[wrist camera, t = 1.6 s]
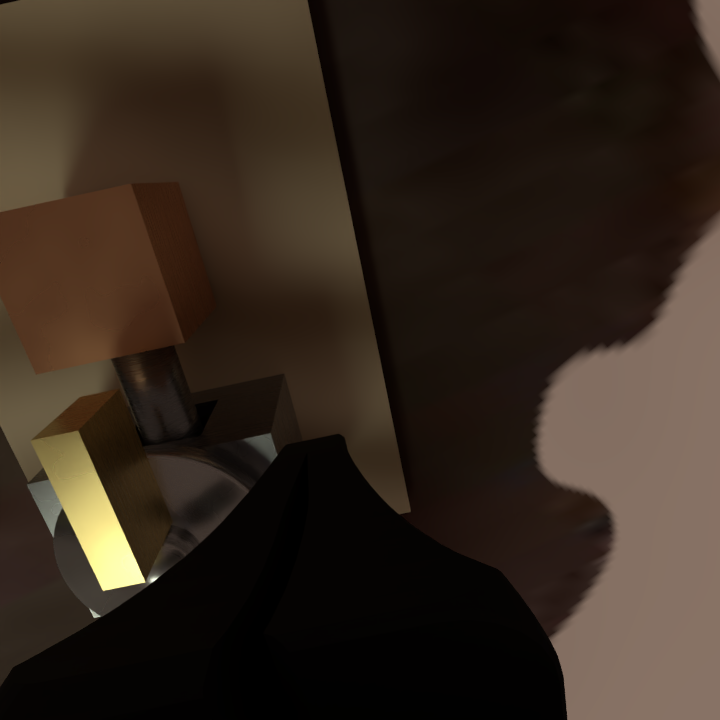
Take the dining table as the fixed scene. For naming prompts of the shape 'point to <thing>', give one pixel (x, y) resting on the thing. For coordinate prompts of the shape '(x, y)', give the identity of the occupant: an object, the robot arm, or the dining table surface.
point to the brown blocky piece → (111, 293)
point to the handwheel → (127, 499)
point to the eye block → (220, 433)
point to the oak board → (202, 199)
